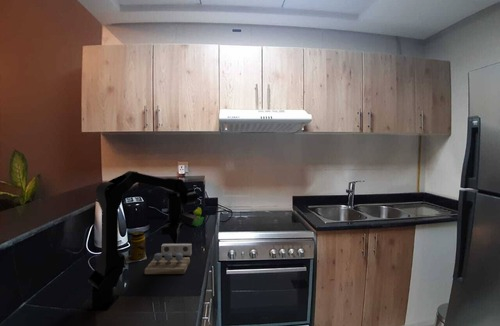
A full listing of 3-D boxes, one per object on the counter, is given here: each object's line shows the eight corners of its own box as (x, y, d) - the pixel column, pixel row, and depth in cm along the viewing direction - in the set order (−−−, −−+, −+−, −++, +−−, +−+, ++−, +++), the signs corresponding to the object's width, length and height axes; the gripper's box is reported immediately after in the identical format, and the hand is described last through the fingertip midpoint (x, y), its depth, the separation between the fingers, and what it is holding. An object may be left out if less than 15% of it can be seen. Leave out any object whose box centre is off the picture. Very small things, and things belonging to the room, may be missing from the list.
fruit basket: (185, 223, 152) (185, 207, 152) (196, 220, 159) (196, 205, 158) (195, 227, 145) (195, 210, 144) (206, 224, 152) (206, 208, 151)
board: (184, 273, 89) (184, 269, 89) (144, 274, 89) (144, 269, 89) (189, 261, 99) (189, 257, 99) (154, 261, 99) (154, 257, 99)
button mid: (170, 265, 92) (170, 256, 92) (163, 265, 92) (163, 256, 92) (173, 261, 95) (173, 252, 95) (166, 262, 95) (166, 252, 95)
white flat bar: (190, 255, 105) (190, 245, 105) (161, 255, 104) (161, 245, 104) (191, 253, 107) (191, 243, 107) (162, 253, 107) (162, 243, 106)
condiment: (147, 258, 101) (146, 233, 101) (126, 263, 97) (126, 237, 96) (144, 252, 108) (144, 229, 107) (125, 257, 103) (124, 232, 102)
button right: (181, 265, 93) (181, 256, 92) (174, 265, 93) (174, 256, 92) (183, 261, 96) (183, 252, 95) (176, 261, 96) (176, 252, 95)
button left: (160, 265, 92) (160, 256, 92) (153, 265, 92) (153, 256, 92) (162, 262, 95) (162, 252, 95) (155, 262, 95) (155, 253, 95)
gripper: (189, 213, 84) (189, 252, 85) (198, 202, 103) (198, 234, 104) (160, 213, 83) (160, 253, 84) (174, 202, 102) (174, 234, 103)
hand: (175, 242), depth 94 cm, fingers closed
